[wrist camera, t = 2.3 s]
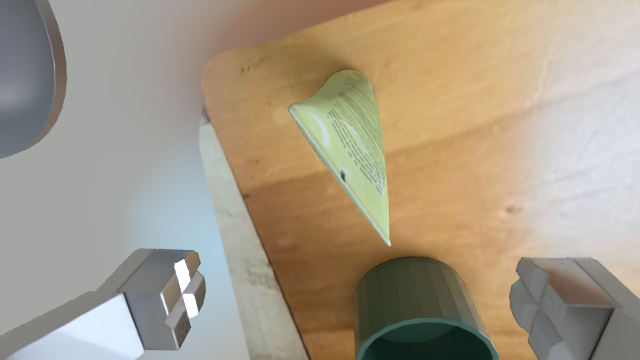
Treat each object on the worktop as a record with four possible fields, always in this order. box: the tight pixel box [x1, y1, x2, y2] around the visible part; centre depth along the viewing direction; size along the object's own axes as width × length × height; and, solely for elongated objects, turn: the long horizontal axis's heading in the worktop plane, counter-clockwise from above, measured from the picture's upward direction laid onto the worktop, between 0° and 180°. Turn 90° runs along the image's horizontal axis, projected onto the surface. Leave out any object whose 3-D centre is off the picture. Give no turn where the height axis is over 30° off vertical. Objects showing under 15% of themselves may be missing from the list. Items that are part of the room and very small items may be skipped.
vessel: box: [353, 257, 499, 360], centre depth 37 cm, size 14×14×9 cm
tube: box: [288, 70, 391, 246], centre depth 22 cm, size 6×5×20 cm
